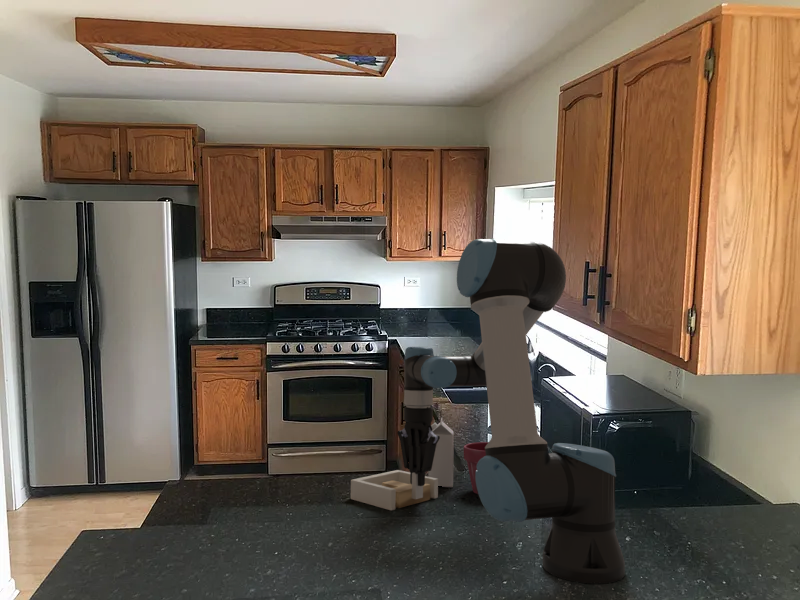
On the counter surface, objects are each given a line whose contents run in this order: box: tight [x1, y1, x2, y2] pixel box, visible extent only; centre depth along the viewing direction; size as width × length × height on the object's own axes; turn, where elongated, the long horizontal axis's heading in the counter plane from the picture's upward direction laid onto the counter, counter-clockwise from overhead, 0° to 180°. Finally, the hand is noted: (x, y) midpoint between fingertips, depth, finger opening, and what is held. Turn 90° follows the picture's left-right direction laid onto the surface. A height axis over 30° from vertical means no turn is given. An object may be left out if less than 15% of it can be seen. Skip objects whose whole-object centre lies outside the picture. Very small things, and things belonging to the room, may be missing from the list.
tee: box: [382, 480, 431, 509], centre depth 172 cm, size 10×12×4 cm
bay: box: [350, 469, 439, 511], centre depth 174 cm, size 15×18×5 cm
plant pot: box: [463, 441, 489, 495], centre depth 182 cm, size 14×14×13 cm
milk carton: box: [427, 417, 455, 488], centre depth 190 cm, size 7×7×19 cm
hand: (417, 497), depth 168 cm, fingers closed
